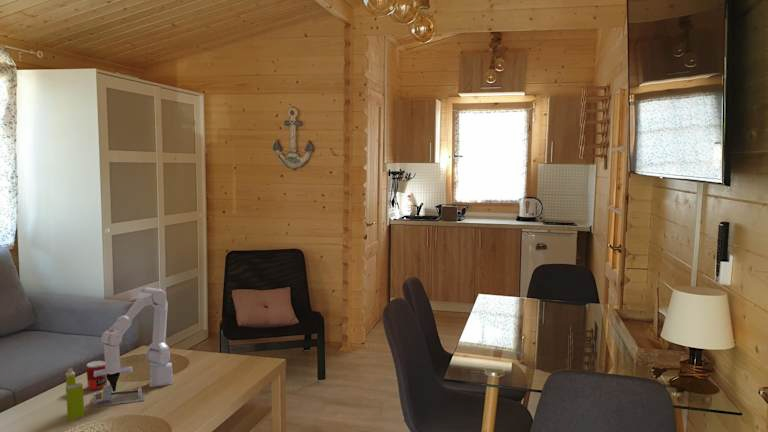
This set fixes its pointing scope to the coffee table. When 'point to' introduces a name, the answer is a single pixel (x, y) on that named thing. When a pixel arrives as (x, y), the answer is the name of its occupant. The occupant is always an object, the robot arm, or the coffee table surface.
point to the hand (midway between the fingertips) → (114, 390)
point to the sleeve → (107, 392)
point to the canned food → (98, 381)
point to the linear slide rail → (117, 398)
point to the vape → (74, 396)
